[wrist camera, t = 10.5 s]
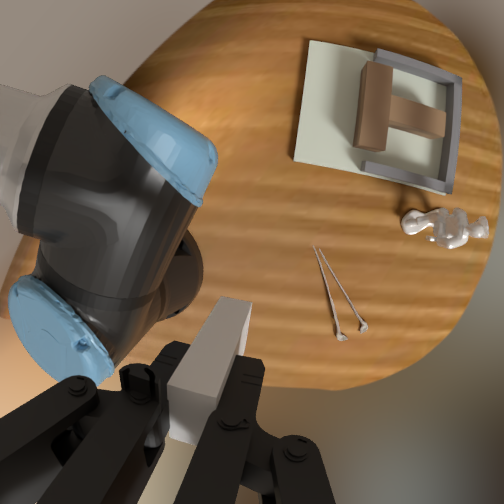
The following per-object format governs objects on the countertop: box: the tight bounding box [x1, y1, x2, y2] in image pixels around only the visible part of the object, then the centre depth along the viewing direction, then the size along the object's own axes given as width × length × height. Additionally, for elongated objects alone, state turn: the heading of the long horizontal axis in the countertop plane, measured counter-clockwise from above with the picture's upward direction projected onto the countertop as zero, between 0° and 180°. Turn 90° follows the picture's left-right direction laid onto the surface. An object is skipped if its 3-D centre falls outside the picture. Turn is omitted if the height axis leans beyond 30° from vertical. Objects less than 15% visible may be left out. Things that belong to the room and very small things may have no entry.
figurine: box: [401, 208, 489, 249], centre depth 28 cm, size 5×9×12 cm, turn 111°
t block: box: [352, 60, 446, 152], centre depth 29 cm, size 10×10×4 cm
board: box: [294, 40, 462, 195], centre depth 30 cm, size 20×16×3 cm
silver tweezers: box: [313, 246, 368, 341], centre depth 39 cm, size 17×5×2 cm, turn 28°
